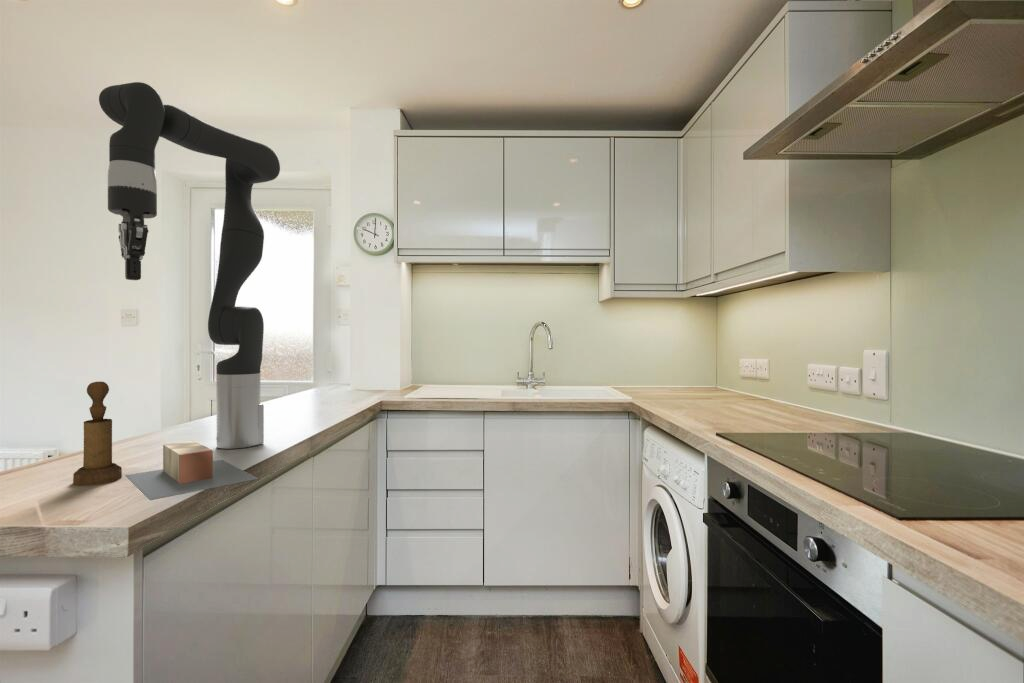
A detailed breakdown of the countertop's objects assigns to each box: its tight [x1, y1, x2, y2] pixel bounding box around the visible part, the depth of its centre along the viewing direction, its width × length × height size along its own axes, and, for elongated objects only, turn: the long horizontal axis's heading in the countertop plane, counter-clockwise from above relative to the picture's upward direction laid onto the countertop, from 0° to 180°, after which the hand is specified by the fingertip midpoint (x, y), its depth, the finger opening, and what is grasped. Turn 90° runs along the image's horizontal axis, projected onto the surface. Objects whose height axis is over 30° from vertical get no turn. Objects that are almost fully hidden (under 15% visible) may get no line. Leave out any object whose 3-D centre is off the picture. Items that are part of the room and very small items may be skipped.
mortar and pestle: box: [72, 381, 123, 487], centre depth 87 cm, size 7×6×18 cm
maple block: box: [162, 440, 214, 484], centre depth 91 cm, size 5×5×12 cm
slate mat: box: [125, 459, 259, 501], centre depth 89 cm, size 16×20×1 cm
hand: (133, 279), depth 95 cm, fingers closed
